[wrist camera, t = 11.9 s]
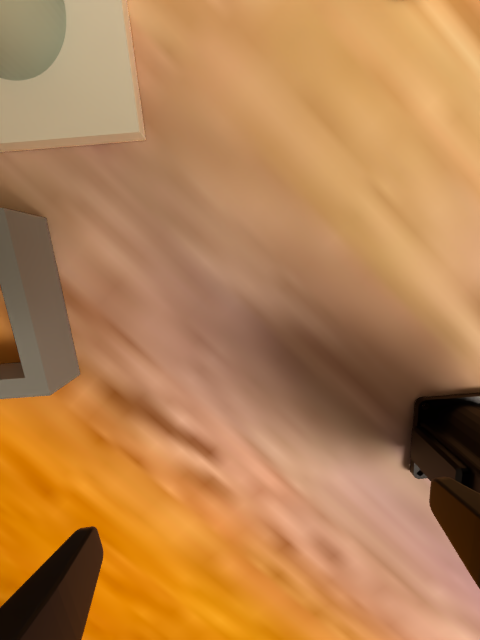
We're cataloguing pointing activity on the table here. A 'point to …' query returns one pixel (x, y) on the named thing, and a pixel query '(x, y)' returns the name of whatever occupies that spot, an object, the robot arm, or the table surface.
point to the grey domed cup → (30, 36)
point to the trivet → (78, 86)
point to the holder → (33, 309)
